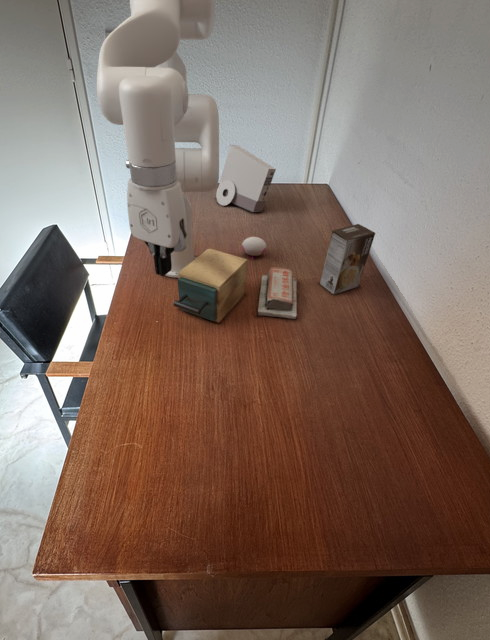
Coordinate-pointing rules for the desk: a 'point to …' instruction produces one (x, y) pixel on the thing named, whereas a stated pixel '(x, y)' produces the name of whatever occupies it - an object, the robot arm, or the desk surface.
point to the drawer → (197, 299)
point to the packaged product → (278, 294)
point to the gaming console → (244, 180)
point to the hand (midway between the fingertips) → (163, 272)
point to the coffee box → (346, 258)
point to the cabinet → (219, 277)
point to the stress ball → (254, 246)
